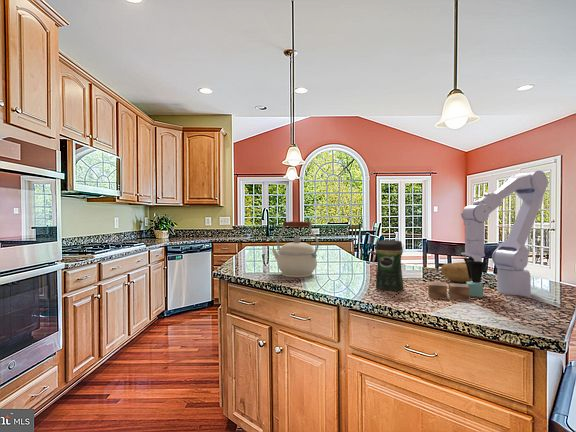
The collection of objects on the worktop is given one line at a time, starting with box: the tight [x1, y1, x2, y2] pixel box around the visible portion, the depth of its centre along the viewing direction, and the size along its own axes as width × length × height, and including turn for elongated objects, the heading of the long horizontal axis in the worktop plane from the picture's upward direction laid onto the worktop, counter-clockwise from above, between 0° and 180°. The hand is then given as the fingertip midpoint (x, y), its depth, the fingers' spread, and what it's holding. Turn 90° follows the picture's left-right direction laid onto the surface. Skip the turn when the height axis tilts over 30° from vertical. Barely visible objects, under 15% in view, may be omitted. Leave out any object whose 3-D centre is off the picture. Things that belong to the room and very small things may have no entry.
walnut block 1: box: [427, 281, 448, 299], centre depth 116 cm, size 6×6×4 cm
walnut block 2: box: [448, 282, 470, 301], centre depth 114 cm, size 6×6×4 cm
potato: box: [440, 262, 473, 284], centre depth 143 cm, size 10×14×8 cm
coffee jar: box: [375, 239, 404, 292], centre depth 128 cm, size 10×8×19 cm
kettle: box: [271, 220, 320, 279], centre depth 161 cm, size 25×18×25 cm
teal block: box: [465, 281, 484, 298], centre depth 118 cm, size 4×4×4 cm
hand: (474, 280), depth 118 cm, fingers open, 7 cm apart
